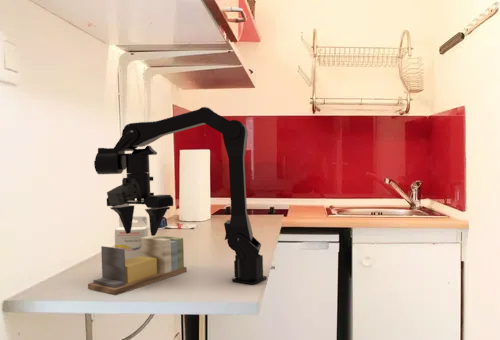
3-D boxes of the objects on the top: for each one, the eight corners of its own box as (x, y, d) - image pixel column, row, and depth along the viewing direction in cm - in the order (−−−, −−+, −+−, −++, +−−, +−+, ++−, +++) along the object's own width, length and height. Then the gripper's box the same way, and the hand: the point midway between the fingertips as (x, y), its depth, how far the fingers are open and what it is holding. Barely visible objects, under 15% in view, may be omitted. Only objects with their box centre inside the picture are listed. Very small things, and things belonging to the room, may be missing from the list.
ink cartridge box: (114, 271, 122) (113, 218, 122) (119, 267, 127) (118, 216, 127) (145, 270, 123) (144, 217, 122) (149, 266, 128) (147, 215, 127)
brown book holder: (186, 271, 120) (185, 236, 120) (115, 295, 100) (114, 252, 100) (160, 267, 126) (159, 233, 125) (88, 288, 106) (86, 248, 106)
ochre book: (157, 273, 114) (156, 258, 114) (127, 283, 105) (127, 266, 105) (140, 271, 117) (139, 256, 117) (110, 280, 108) (110, 264, 108)
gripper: (87, 175, 110) (90, 237, 110) (139, 174, 100) (142, 242, 100) (122, 173, 119) (125, 230, 120) (173, 172, 109) (176, 234, 110)
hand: (140, 234), depth 112 cm, fingers open, 9 cm apart
